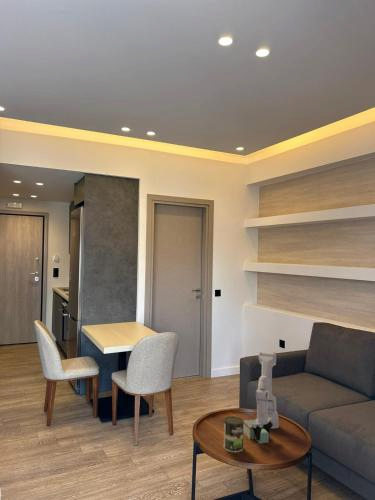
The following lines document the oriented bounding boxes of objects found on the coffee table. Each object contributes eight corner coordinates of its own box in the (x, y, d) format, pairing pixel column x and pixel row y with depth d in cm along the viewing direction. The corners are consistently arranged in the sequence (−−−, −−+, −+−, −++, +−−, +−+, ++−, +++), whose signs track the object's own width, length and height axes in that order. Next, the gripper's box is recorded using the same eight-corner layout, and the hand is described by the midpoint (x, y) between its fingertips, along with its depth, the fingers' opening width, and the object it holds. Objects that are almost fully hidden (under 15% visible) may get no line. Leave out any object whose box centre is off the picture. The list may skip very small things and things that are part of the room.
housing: (259, 429, 214) (259, 418, 214) (267, 437, 204) (268, 425, 204) (242, 431, 211) (242, 420, 211) (249, 439, 201) (249, 427, 202)
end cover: (259, 434, 207) (259, 424, 208) (268, 442, 197) (268, 432, 198) (251, 435, 206) (251, 425, 206) (259, 443, 196) (259, 433, 196)
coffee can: (247, 450, 189) (247, 422, 189) (229, 454, 184) (230, 425, 185) (236, 441, 198) (237, 415, 199) (219, 445, 194) (220, 417, 195)
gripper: (265, 407, 208) (265, 432, 207) (247, 413, 198) (247, 439, 197) (275, 411, 202) (275, 436, 201) (258, 417, 193) (258, 443, 192)
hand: (262, 438), depth 199 cm, fingers open, 7 cm apart
